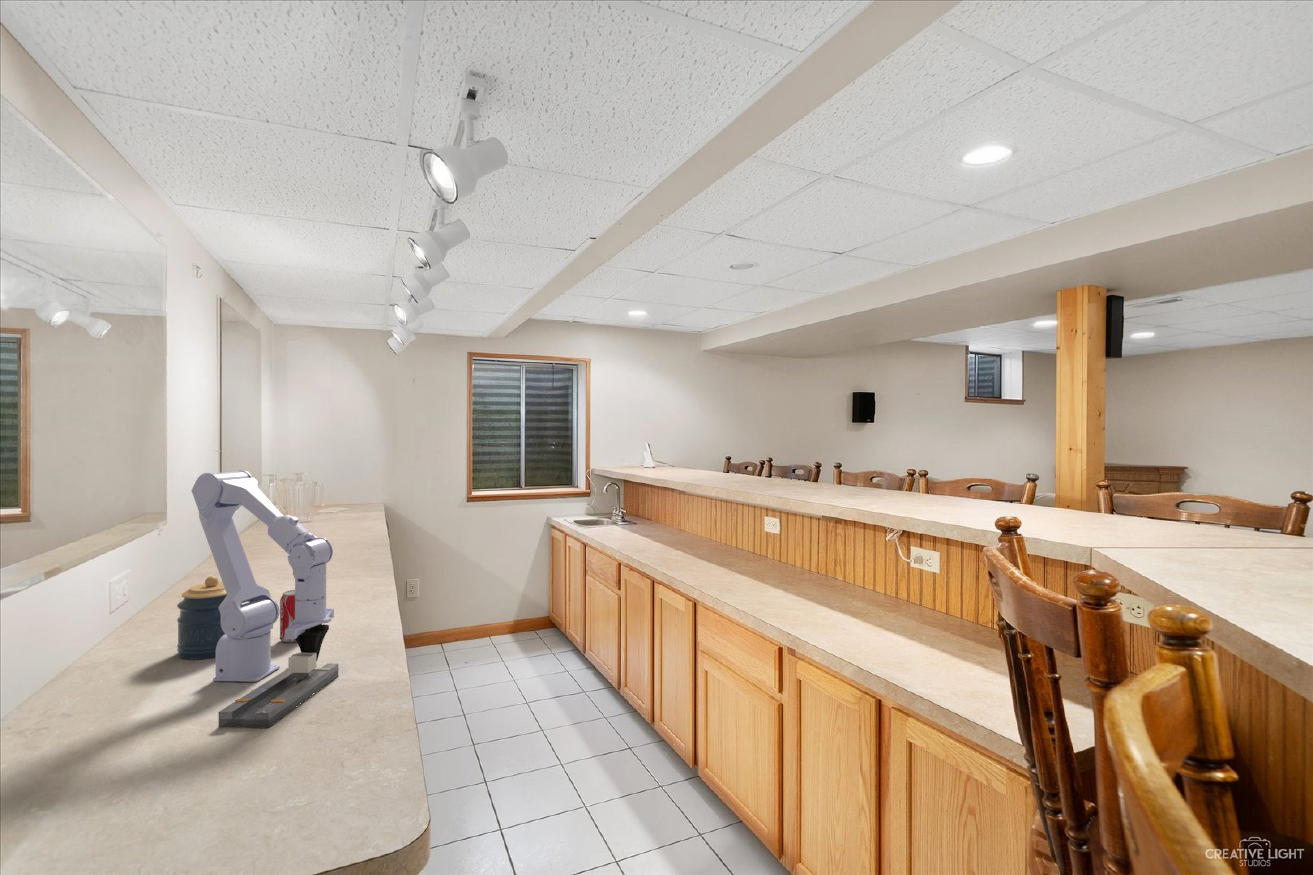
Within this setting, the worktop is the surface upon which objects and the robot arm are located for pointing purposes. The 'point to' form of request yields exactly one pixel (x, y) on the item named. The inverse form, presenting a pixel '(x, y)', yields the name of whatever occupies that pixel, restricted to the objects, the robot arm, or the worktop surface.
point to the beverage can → (287, 613)
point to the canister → (200, 620)
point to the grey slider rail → (275, 698)
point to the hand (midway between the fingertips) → (310, 662)
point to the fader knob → (301, 664)
